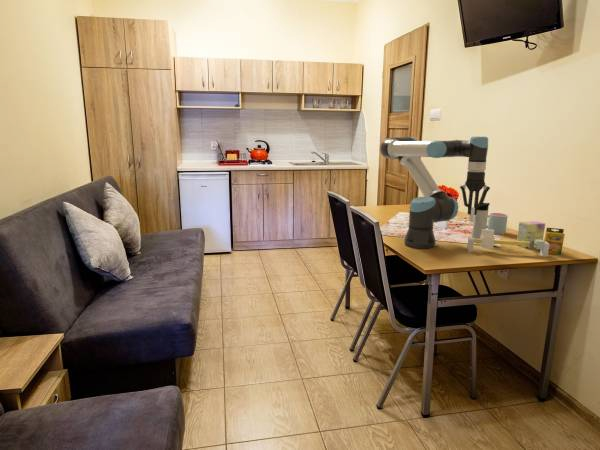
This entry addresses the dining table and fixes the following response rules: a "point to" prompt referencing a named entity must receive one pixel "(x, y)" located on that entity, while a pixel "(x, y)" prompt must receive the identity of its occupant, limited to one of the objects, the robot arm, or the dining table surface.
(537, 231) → the box
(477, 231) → the travel mug
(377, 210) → the dining table surface
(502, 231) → the mug
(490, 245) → the sleeve
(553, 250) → the crayon box
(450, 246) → the dining table surface
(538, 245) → the rail
